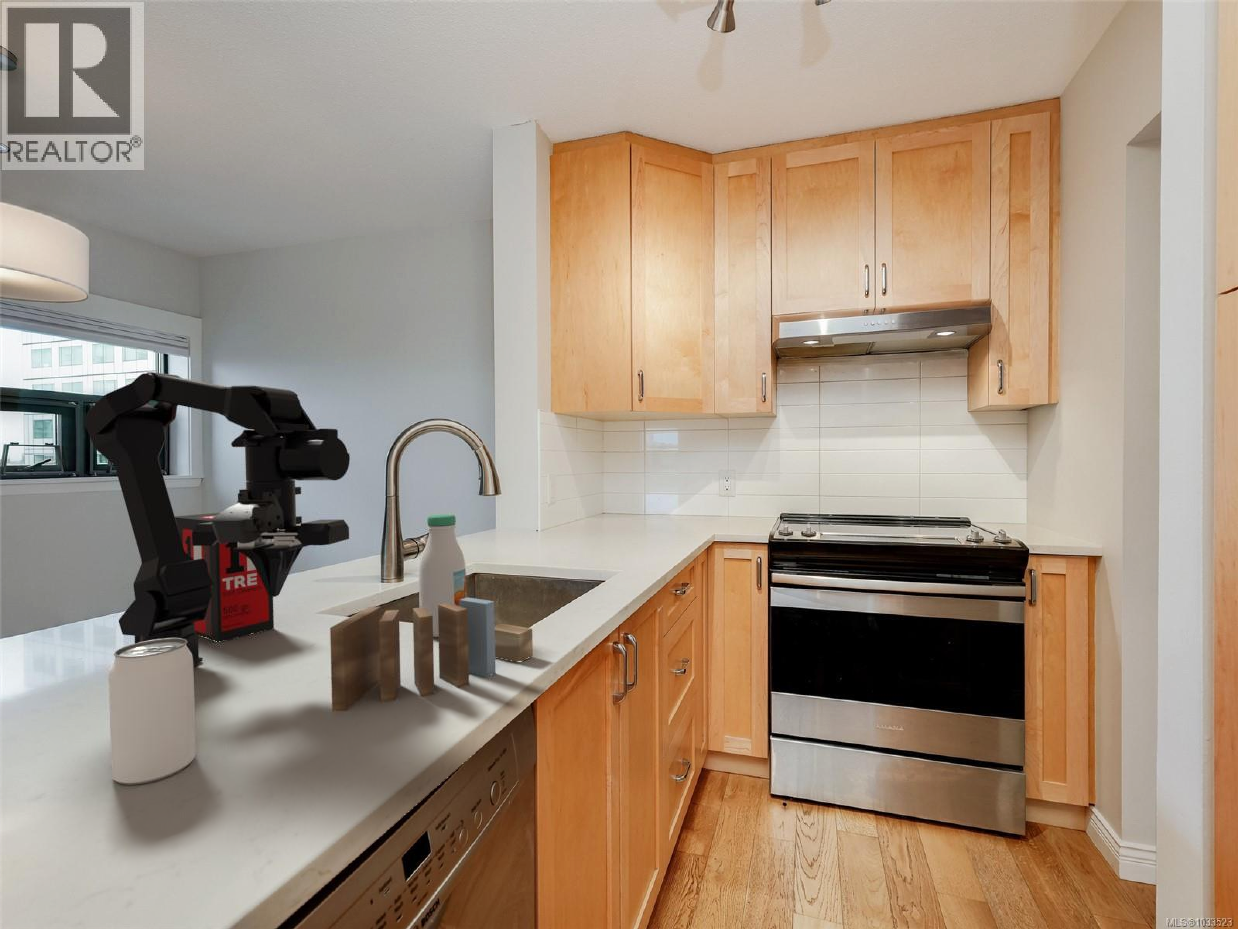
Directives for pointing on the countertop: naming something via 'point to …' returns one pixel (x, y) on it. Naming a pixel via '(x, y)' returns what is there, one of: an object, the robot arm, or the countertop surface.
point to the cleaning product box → (228, 587)
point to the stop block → (513, 642)
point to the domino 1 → (355, 657)
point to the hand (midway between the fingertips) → (273, 596)
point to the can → (151, 710)
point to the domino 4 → (453, 644)
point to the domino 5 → (480, 635)
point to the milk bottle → (441, 568)
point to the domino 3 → (423, 651)
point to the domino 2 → (389, 655)
